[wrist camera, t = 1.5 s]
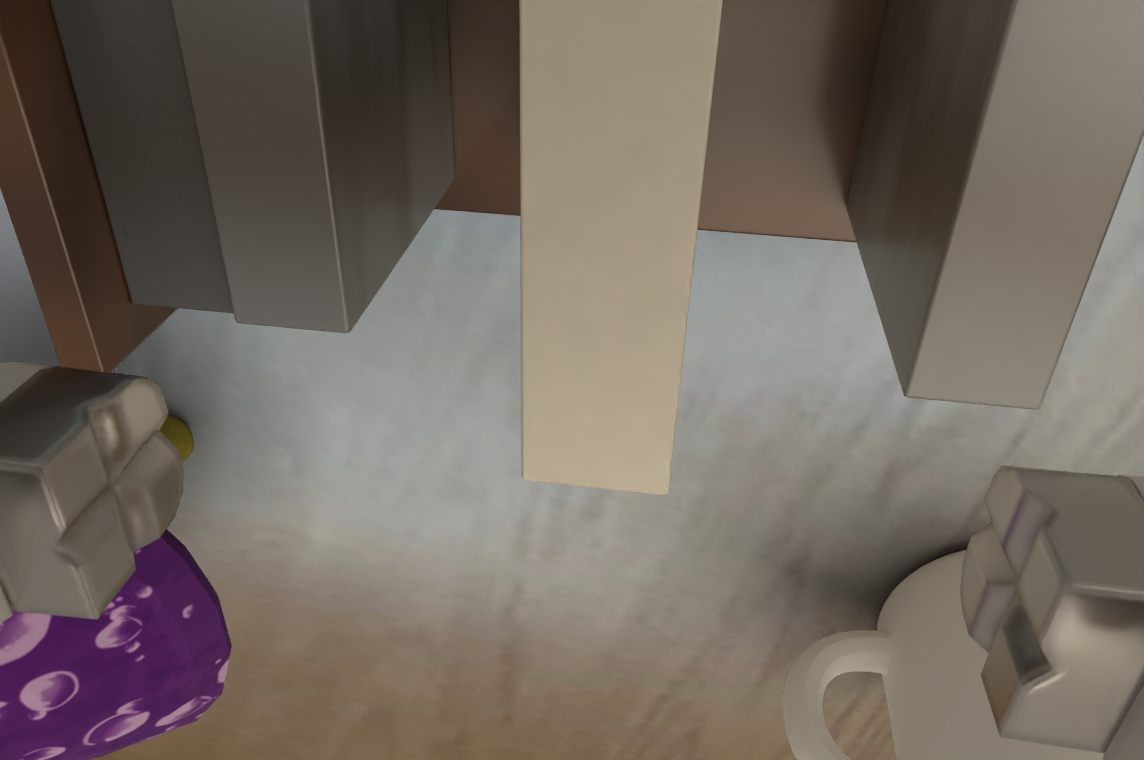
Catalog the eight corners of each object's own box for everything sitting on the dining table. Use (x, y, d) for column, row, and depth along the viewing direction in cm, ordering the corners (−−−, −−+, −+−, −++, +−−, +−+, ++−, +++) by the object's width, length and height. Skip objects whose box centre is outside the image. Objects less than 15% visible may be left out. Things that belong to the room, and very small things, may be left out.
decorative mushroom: (279, 267, 30) (-40, 613, 17) (372, 550, 36) (191, 948, 24) (-47, 287, 32) (-539, 606, 19) (96, 550, 38) (-201, 914, 26)
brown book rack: (214, -199, 22) (-131, -193, 13) (1050, -170, 21) (1318, -140, 11) (275, 184, 28) (61, 374, 19) (940, 236, 26) (1061, 475, 17)
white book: (620, -134, 21) (518, -57, 10) (722, -130, 21) (728, -46, 10) (604, 190, 26) (521, 481, 15) (689, 197, 25) (667, 497, 15)
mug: (758, 663, 37) (769, 927, 28) (795, 509, 32) (822, 769, 24) (1064, 705, 36) (1173, 994, 27) (1147, 552, 31) (1310, 842, 23)
